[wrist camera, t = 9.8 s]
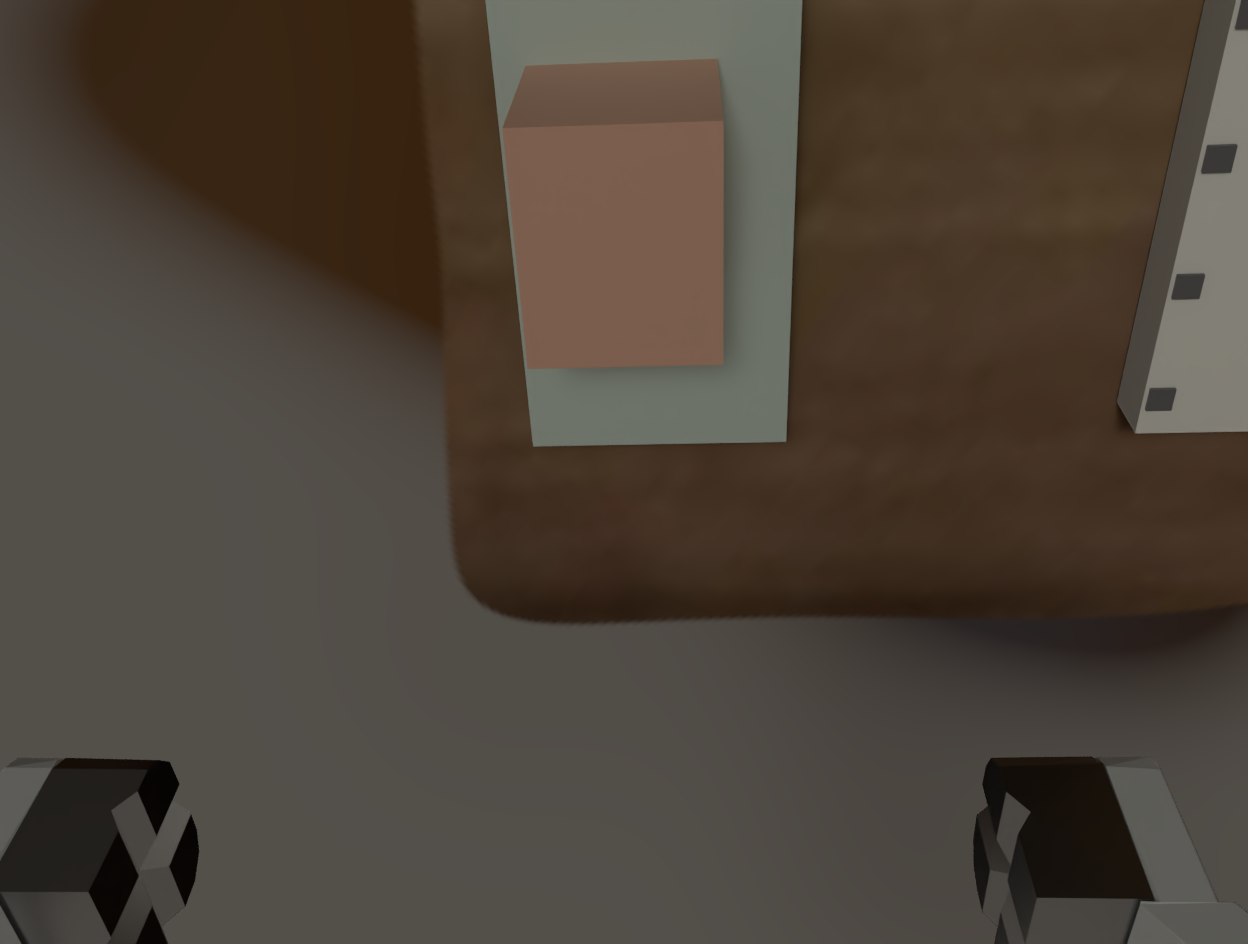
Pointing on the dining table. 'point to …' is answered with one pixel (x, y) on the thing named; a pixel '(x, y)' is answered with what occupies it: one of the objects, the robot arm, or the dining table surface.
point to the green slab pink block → (651, 213)
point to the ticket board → (1199, 252)
